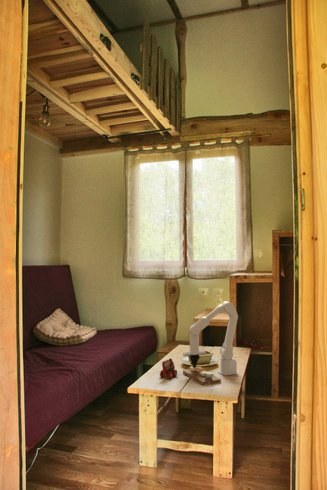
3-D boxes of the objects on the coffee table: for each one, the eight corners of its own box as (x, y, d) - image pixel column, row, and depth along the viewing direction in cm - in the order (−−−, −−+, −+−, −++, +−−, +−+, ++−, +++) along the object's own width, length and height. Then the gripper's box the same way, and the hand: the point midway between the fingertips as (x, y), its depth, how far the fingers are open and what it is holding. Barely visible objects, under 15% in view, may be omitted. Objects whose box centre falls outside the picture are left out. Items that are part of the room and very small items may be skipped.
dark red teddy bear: (178, 375, 242) (179, 358, 242) (168, 380, 231) (168, 362, 232) (169, 373, 245) (169, 356, 246) (158, 378, 235) (158, 360, 235)
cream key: (195, 372, 247) (195, 366, 247) (198, 373, 243) (198, 367, 244) (190, 372, 245) (190, 366, 246) (193, 374, 242) (193, 368, 242)
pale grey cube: (210, 378, 230) (210, 372, 231) (213, 380, 227) (213, 373, 227) (204, 379, 229) (204, 372, 229) (207, 380, 225) (207, 374, 226)
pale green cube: (205, 377, 236) (205, 371, 236) (208, 379, 232) (208, 372, 233) (199, 377, 234) (199, 371, 235) (202, 379, 231) (202, 373, 231)
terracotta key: (200, 372, 241) (200, 366, 242) (203, 374, 238) (203, 368, 238) (194, 373, 240) (194, 367, 240) (197, 375, 237) (197, 369, 237)
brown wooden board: (200, 371, 250) (200, 368, 250) (221, 382, 227) (221, 379, 227) (183, 373, 245) (183, 370, 245) (202, 385, 222) (202, 381, 222)
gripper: (201, 342, 252) (201, 364, 251) (180, 344, 246) (180, 366, 245) (207, 345, 245) (207, 367, 245) (186, 346, 239) (185, 369, 239)
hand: (194, 367), depth 245 cm, fingers closed, pressing on cream key
